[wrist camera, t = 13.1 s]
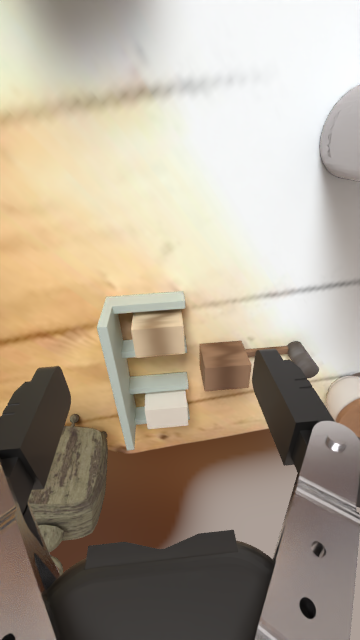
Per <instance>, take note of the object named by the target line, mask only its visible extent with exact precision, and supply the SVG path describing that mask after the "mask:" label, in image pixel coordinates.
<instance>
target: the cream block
mask: <svg viewBox="0 0 360 640" xmlns="http://www.w3.org/2000/svg"><path fill="white" fill-rule="evenodd" d="M145 415H146V421H147V427H148V429H156V428H166V427H176V426H187V425H188V410H187V400H186V392H185V390H174V391H163V392H151V393H145Z"/></svg>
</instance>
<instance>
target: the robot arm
mask: <svg viewBox="0 0 360 640" xmlns="http://www.w3.org/2000/svg"><path fill="white" fill-rule="evenodd" d="M320 154H321V158H322V161H323V164H324V165H325V167H326V169H327V170H328V171H329V172H330V173H331V174H333V175H335V176H337V177H339V178H344V179H350V180H355V181H359V182H360V85H358V86H356V87H355V88H353V89H351V90H350V91H348V92H347V93H346V94H345V95H344V96H342V97H341V99H340V100H339V101H338V102H337V103H336V104H335V105H334V107H333V109H332V110H331V112H330V113H329V115H328V117H327V119H326V121H325V124H324V126H323V130H322V134H321V140H320ZM252 383H253V389H254V392H255V395H256V397H257V400H258V402H259V404H260V407H261V409H262V412H263V414H264V417H265V419H266V422H267V424H268V427H269V429H270V432H271V434H272V437H273V439H274V442H275V444H276V447H277V449H278V451H279V454H280V456H281V459H282V462H283V464H284V465H293V464H294V465H295V467H296V469H297V472H298V474H297V477H296V481H295V484H294V488H293V491H292V495H291V498H290V502H289V505H288V508H287V512H286V515H285V519H284V522H283V526H282V529H281V533H280V535H279V539H278V542H277V545H276V549H275V553H274V555H273V559H271V558H270V557H269V556H268V555H266V554H265V553H263V552H262V551H261V550H259V549H257V548H255V547H253V546H251V545H249V544H246V543H243V542H240V541H236V538H235V534H234V530H228V531H219V532H210V533H201V534H197V535H195V536H193V537H190V538H188V539H186V540H183V541H181V542H179V543H177V544H174V545H172V546H170V547H168V548H166V549H155V548H150V547H146V546H141V545H137V544H132V543H127V542H120V543H111V544H102V545H93V546H88V553H87V558H86V559H84V560H82V561H80V562H78V563H76V564H75V565H73V566H72V567H70V568H69V569H68V570H66V571H65V572H64V573H63V574H62V575H61V576H60V574H59V572H58V569H57V567H56V566H55V563H54V561H53V560H52V558H51V556H50V554H49V552H48V549H47V547H46V544H45V542H44V539H43V537H42V534H41V532H40V529H39V527H38V524H37V522H36V519H35V517H34V514H33V511H32V509H31V506H30V504H29V502H28V499H29V497H30V494H31V491H32V490H38V489H44V488H45V484H46V481H47V478H48V475H49V472H50V469H51V466H52V463H53V459H54V456H55V453H56V450H57V447H58V444H59V441H60V437H61V434H62V431H63V428H64V425H65V422H66V419H67V416H68V412H69V409H70V405H71V395H70V391H69V389H68V386H67V383H66V380H65V378H64V375H63V372H62V370H61V368H60V367H59V366H55V367H43V368H38V369H37V371H36V372H35V374H34V376H33V378H32V380H31V382H25V383H24V384H23V385H22V386H20V387H19V388H18V389H17V390H16V391H15V392H14V394H13V395H12V397H11V399H10V401H9V403H8V406H6V408H5V410H4V411H3V413H2V416H1V417H0V640H350V632H351V621H352V610H353V600H354V588H355V578H356V567H357V556H358V546H359V533H360V514H359V513H358V512H356V507H360V438H359V437H357V436H356V434H355V433H354V432H353V431H352V430H350V429H349V428H348V427H346V426H344V425H342V424H340V423H337V422H335V420H334V419H333V418H332V416H331V414H330V413H329V411H328V410H327V408H326V407H325V405H324V404H323V402H322V401H321V399H320V398H319V396H318V394H317V393H316V391H315V390H314V388H312V385H311V384H310V382H309V381H308V380H307V378H306V376H305V374H304V373H303V371H302V370H301V368H300V367H298V366H297V365H296V364H294V363H293V362H292V361H291V360H283V359H282V358H281V356H280V354H279V353H278V351H277V350H276V349H264V350H257V351H256V353H255V360H254V368H253V376H252Z"/></svg>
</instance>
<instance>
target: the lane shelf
mask: <svg viewBox="0 0 360 640" xmlns="http://www.w3.org/2000/svg"><path fill="white" fill-rule="evenodd" d="M184 308H185V299H184V293H183V291H179V292H166V293H152V294H139V295H125V296H112V297H106V300H105V303H104V306H103V309H102V313H101V316H100V319H99V322H98V325H97V330H98V334H99V338H100V342H101V346H102V350H103V354H104V358H105V363H106V367H107V371H108V375H109V379H110V383H111V387H112V391H113V395H114V399H115V403H116V407H117V411H118V415H119V419H120V423H121V427H122V431H123V436H124V440H125V444H126V448H127V450H134V445H135V430H136V425H137V424H147V421H146V415H145V407H136V405H135V400H134V395H133V394H140V393H151V392H163V391H174V390H185V389H188V379H187V372H179V373H168V374H156V375H145V376H133V377H130V374H129V368H128V363H127V358H131V357H136V356H135V350H134V344H133V340H123V337H122V332H121V327H120V321H119V316H118V314H119V313H132V312H145V311H158V310H171V309H184ZM184 343H185V353H187V345H186V339H185V335H184ZM187 410H188V420H190V417H189V408H188V403H187Z"/></svg>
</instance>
